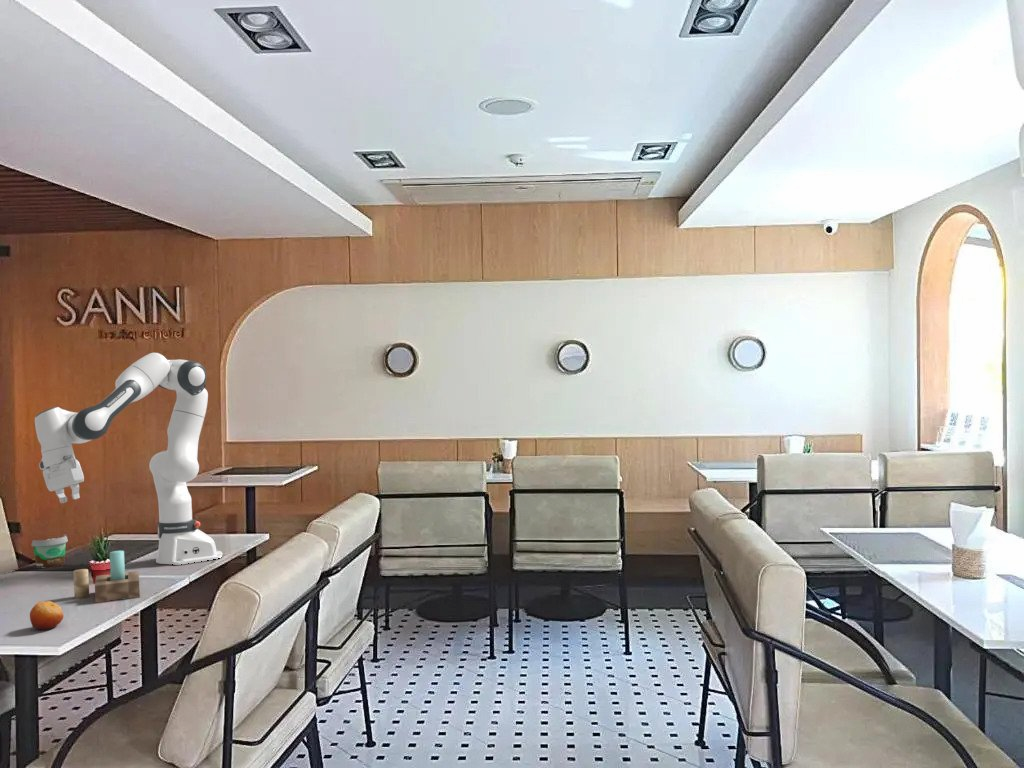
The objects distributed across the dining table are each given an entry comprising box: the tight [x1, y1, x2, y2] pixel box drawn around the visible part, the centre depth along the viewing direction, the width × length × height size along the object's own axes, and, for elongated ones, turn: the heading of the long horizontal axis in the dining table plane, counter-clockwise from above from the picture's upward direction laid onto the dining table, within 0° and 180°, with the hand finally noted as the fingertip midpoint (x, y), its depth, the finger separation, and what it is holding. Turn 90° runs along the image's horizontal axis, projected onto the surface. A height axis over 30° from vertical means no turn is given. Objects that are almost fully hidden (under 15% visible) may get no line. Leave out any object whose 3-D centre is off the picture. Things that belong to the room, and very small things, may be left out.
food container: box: [31, 533, 69, 568], centre depth 311 cm, size 12×6×10 cm, turn 148°
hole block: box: [94, 570, 141, 604], centre depth 267 cm, size 12×14×5 cm
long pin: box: [109, 550, 126, 581], centre depth 267 cm, size 4×4×13 cm
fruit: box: [29, 600, 64, 630], centre depth 234 cm, size 8×8×8 cm
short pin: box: [73, 568, 90, 599], centre depth 266 cm, size 4×4×8 cm
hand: (70, 500), depth 278 cm, fingers open, 8 cm apart
